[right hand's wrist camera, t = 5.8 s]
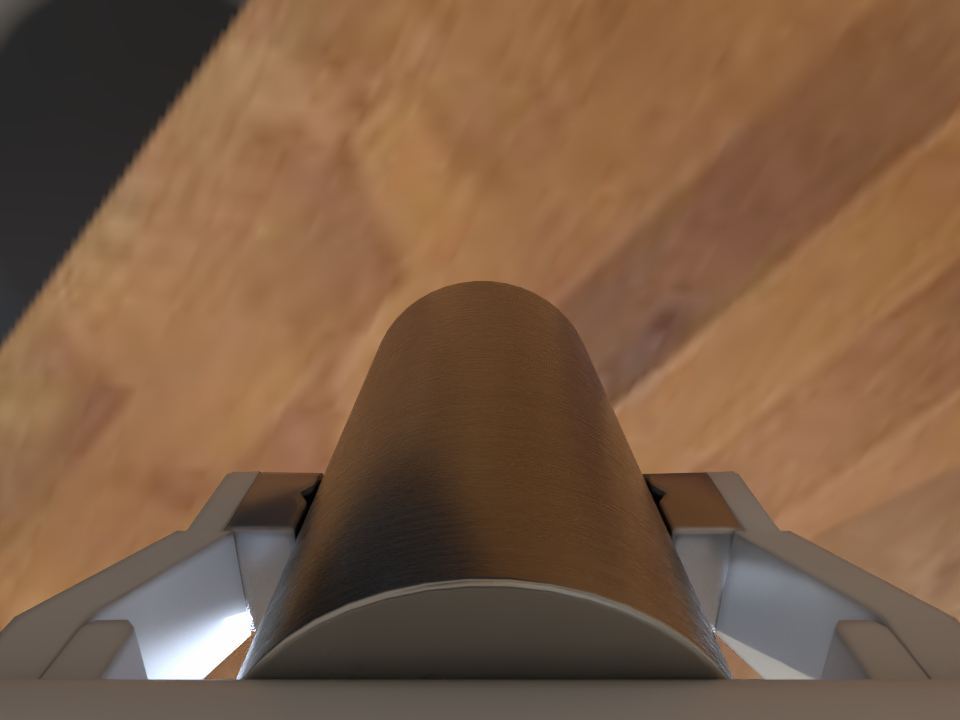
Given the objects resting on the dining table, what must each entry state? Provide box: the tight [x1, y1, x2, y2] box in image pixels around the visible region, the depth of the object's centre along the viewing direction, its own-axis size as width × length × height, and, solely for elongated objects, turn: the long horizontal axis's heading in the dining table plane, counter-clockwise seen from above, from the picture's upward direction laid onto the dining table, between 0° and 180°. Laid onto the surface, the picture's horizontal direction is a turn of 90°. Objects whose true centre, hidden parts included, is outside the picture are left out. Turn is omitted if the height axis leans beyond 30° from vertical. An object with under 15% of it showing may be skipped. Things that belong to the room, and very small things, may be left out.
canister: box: [237, 281, 734, 679], centre depth 10 cm, size 5×5×10 cm
